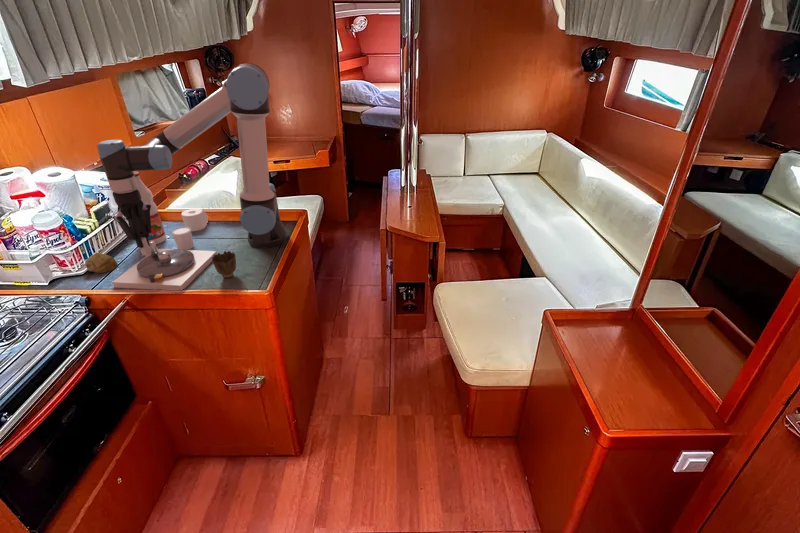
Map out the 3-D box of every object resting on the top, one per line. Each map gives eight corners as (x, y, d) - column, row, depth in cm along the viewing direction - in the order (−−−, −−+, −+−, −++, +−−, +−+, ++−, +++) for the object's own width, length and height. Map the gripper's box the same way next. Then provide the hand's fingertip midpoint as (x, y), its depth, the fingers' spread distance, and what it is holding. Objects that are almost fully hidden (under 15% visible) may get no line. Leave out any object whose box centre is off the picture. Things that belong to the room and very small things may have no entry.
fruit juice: (169, 234, 175) (148, 168, 161) (163, 244, 167) (140, 176, 153) (144, 237, 174) (121, 170, 160) (137, 247, 166) (112, 177, 152)
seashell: (115, 273, 156) (100, 256, 155) (126, 263, 154) (111, 245, 153) (92, 282, 148) (76, 264, 146) (103, 272, 145) (86, 253, 144)
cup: (218, 284, 141) (213, 263, 137) (215, 274, 147) (210, 254, 143) (241, 278, 144) (236, 258, 140) (237, 269, 150) (232, 249, 146)
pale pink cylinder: (198, 243, 168) (194, 227, 164) (189, 251, 162) (184, 234, 159) (182, 242, 169) (177, 226, 165) (172, 250, 163) (167, 234, 159)
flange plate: (204, 254, 155) (200, 237, 152) (172, 283, 138) (166, 265, 134) (159, 251, 157) (153, 235, 154) (121, 280, 140) (114, 262, 136)
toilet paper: (209, 219, 188) (205, 205, 185) (203, 230, 179) (199, 215, 175) (190, 221, 187) (186, 206, 184) (183, 231, 178) (178, 216, 174)
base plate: (217, 255, 159) (214, 244, 156) (182, 290, 138) (178, 278, 136) (157, 253, 161) (153, 242, 159) (114, 287, 140) (109, 275, 138)
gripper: (133, 182, 143) (153, 245, 155) (98, 194, 133) (122, 260, 144) (150, 185, 141) (169, 248, 152) (115, 197, 130) (138, 264, 142)
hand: (146, 254), depth 148 cm, fingers closed
